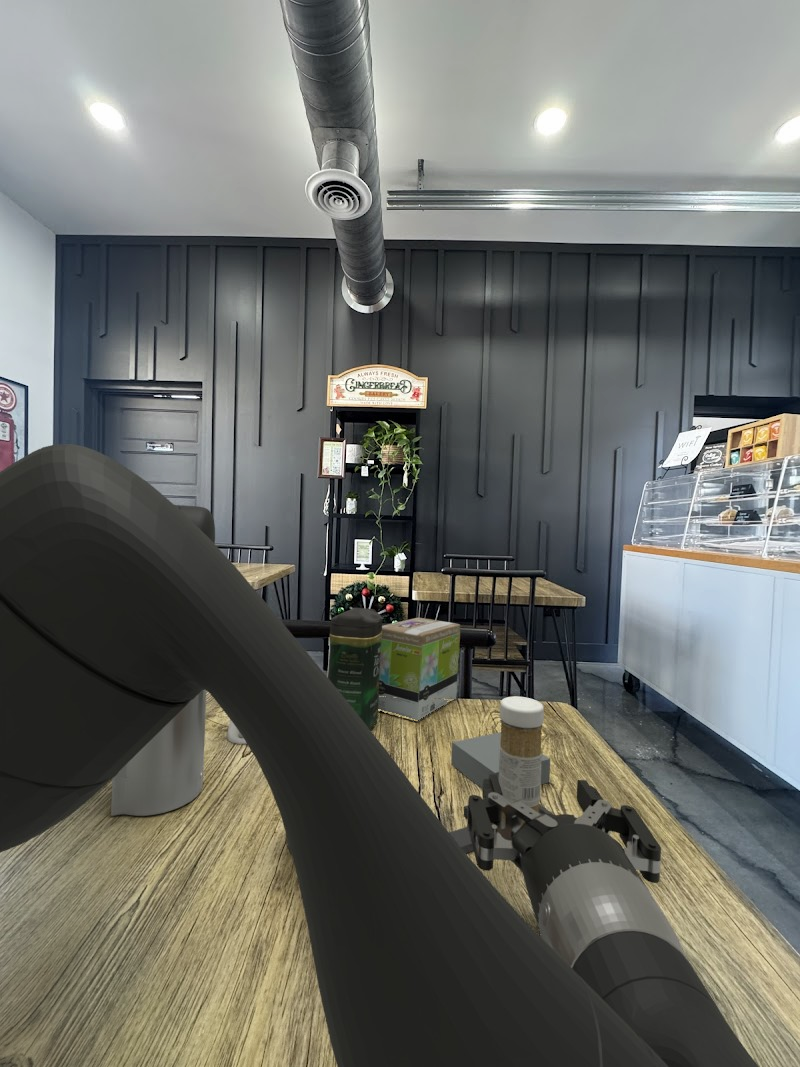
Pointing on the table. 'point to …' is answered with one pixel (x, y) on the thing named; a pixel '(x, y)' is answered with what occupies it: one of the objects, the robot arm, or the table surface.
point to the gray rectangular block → (485, 758)
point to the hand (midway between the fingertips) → (536, 786)
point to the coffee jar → (357, 660)
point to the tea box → (418, 666)
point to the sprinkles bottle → (521, 750)
